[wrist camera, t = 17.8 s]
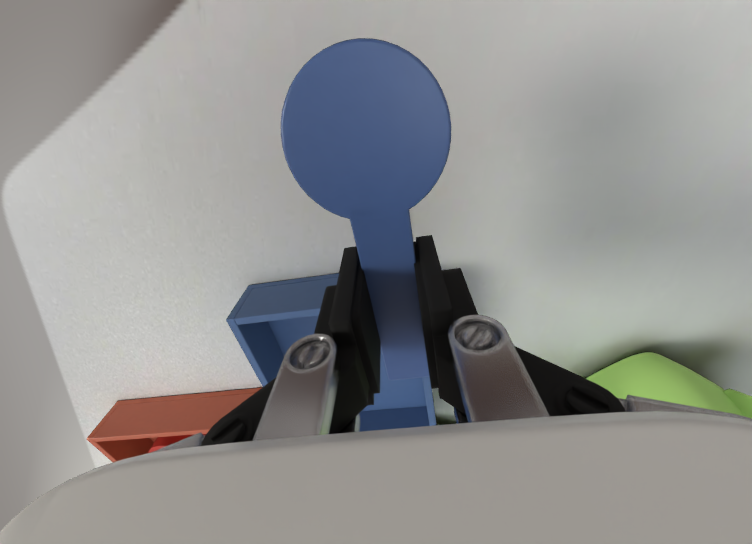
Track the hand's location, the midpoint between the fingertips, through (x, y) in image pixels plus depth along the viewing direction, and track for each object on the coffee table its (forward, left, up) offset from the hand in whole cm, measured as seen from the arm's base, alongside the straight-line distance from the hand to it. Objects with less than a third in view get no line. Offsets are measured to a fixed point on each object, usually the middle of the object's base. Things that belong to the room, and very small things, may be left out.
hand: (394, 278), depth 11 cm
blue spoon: (0, +1, 0) cm, 1 cm away
